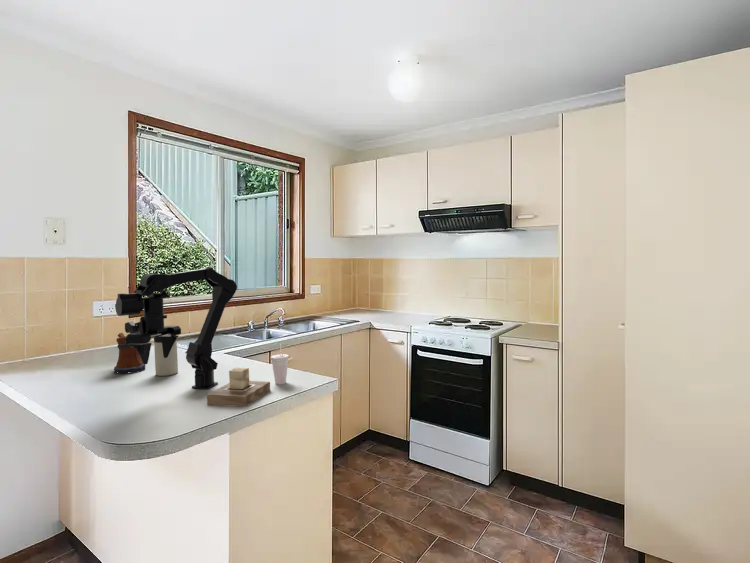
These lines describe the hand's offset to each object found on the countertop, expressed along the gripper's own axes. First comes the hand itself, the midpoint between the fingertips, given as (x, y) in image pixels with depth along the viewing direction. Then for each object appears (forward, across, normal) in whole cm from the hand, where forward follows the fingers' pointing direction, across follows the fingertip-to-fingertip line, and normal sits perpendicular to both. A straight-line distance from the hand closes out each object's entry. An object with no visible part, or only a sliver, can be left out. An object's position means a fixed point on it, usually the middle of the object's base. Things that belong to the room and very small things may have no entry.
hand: (155, 360), depth 139 cm
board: (+12, -5, +27) cm, 30 cm away
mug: (+12, -32, -40) cm, 52 cm away
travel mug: (+12, -27, -18) cm, 35 cm away
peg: (+12, -5, +27) cm, 30 cm away
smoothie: (+12, -22, +33) cm, 41 cm away
